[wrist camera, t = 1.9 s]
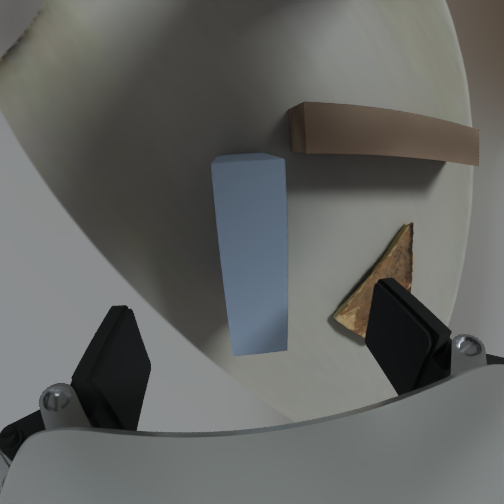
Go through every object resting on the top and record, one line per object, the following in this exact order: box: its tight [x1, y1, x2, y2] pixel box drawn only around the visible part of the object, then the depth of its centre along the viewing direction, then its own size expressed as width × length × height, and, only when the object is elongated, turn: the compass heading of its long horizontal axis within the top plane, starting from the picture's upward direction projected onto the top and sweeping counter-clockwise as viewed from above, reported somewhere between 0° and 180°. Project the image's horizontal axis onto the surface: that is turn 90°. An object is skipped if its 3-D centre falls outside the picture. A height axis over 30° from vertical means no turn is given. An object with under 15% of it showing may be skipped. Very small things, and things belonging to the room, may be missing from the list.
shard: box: [333, 222, 414, 338], centre depth 23 cm, size 11×8×2 cm
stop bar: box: [288, 102, 479, 166], centre depth 16 cm, size 3×15×4 cm, turn 94°
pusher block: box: [211, 152, 288, 356], centre depth 16 cm, size 3×10×8 cm, turn 4°
